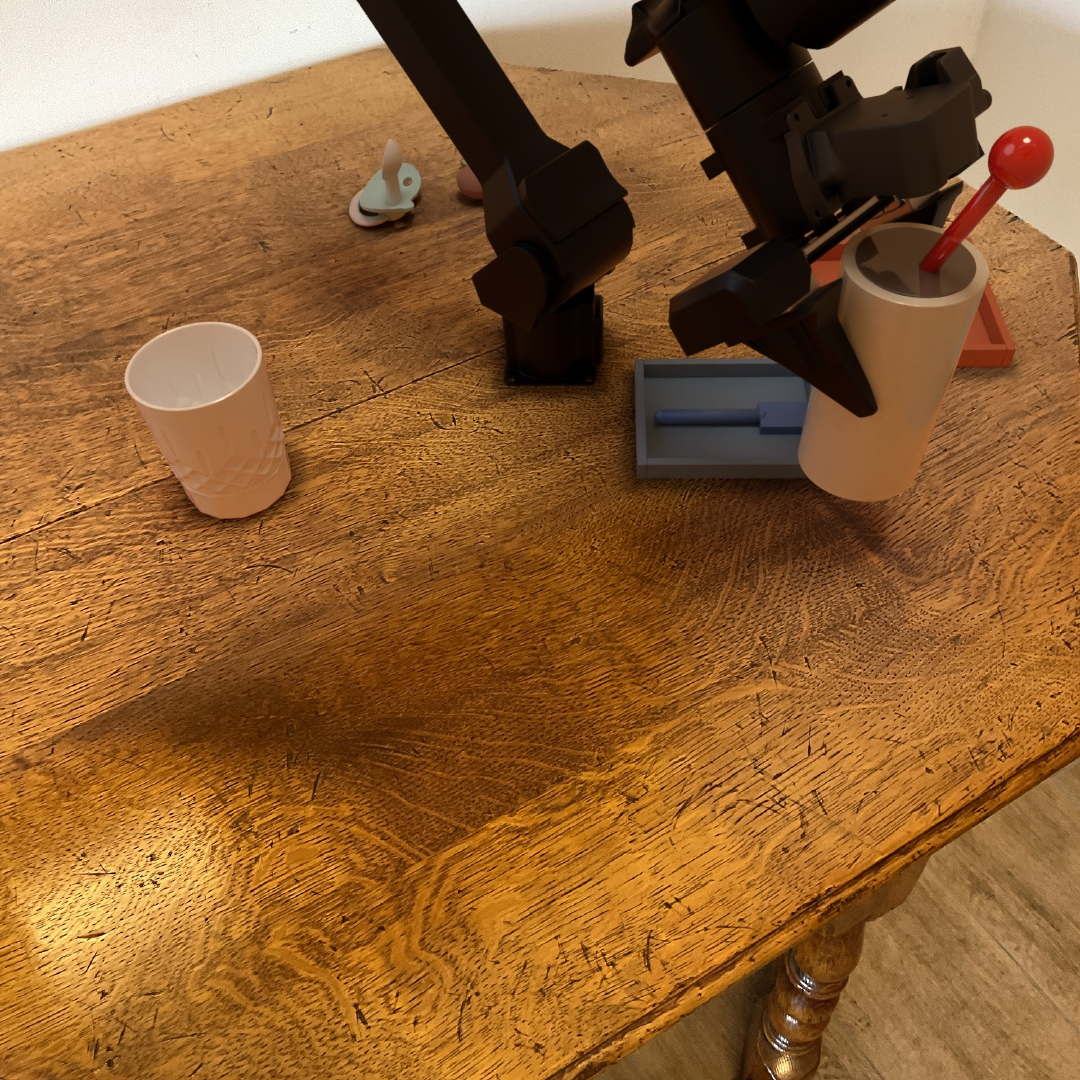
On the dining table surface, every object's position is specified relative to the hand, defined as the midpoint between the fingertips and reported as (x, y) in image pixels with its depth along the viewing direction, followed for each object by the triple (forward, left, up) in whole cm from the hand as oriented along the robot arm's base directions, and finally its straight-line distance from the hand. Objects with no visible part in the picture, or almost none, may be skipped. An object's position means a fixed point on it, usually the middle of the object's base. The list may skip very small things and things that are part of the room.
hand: (907, 380), depth 50 cm
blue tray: (-7, +10, -12) cm, 17 cm away
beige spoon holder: (-1, +1, -7) cm, 7 cm away
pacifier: (-34, +37, -13) cm, 52 cm away
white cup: (-39, +5, -13) cm, 41 cm away
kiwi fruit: (-26, +39, -12) cm, 49 cm away
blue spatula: (-7, +10, -12) cm, 17 cm away
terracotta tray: (+6, +22, -12) cm, 26 cm away
